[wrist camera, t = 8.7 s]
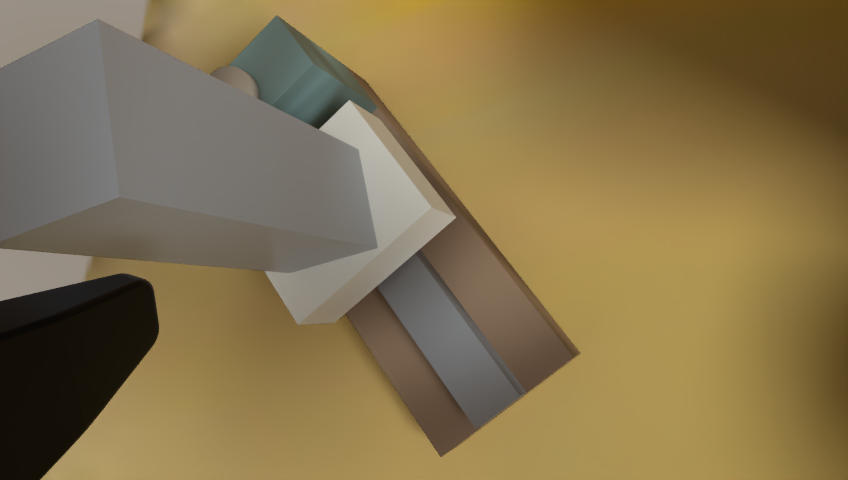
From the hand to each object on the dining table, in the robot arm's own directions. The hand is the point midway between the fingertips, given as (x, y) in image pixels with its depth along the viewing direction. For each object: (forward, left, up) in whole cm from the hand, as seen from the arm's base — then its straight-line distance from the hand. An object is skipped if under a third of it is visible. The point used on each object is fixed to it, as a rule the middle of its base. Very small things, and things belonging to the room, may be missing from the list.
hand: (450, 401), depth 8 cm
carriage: (-3, +7, -9) cm, 12 cm away
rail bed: (-3, +6, -12) cm, 14 cm away
